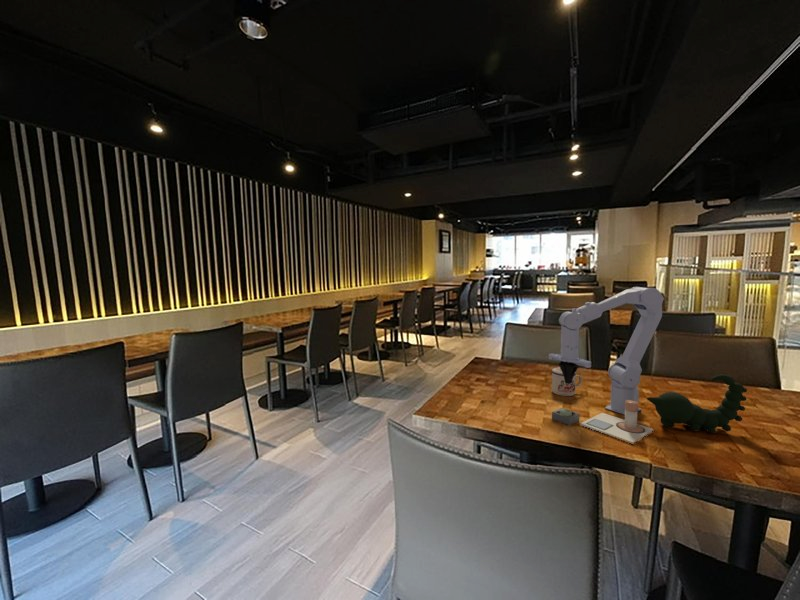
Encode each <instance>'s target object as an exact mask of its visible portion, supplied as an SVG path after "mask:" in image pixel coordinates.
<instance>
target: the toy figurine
mask: <svg viewBox="0 0 800 600" xmlns="http://www.w3.org/2000/svg"><path fill="white" fill-rule="evenodd" d="M710 381H711V382H712V383H713V382H716V381H717V382H718V381H721V382H722V383H724V384H725V385H727V388H728V389H727V390H726V391H725V393H724V396H725V397H724V398H723V399H722V400H721V404H720V405H718V406H717V407H716V409H709V408H702V407H701V406H700V405H697V404H694V403H692V402H691V400H690V399H689V398H688V397H686V396H685V395H683V394H682V393H678V392H675V391H674V392H673V391H669V392H668V391H667V392H664V393H661V394H659V396H657V397H656V396H655V397H646V400H647V401H648V402H650V403H651V404H653V405H654V407H655V410H656V412H657V414H658V416H660V419H659V420H660V423H661V424H662V425H663V426H664V427H666V428H667V427H668V429H672V428H674V427H675V424H681V425H682V424H684V425H687V426H688V427H689V429H690V430H692V431H693V432H699V431H701V429H704V430H706V431H707V432H708V433H709V432H710V433H709V434H711V433H714V434H716V432H717V430H716V429H717V428H721V429H722V430H723V431H725V432H731V430H732V427H731V426H730V425H729V423H730V421H734V420H735V421H737V422H742V421H743V417H742V415H738V411H741V412H743V411H745V410H746V407H745V406H743V405H741V402H744V401H745V402H746V401H747V397H746V396H744V394H743V393H747V392H748V389H747V388H746V387H745V386H743V385H742V384H741V383H738V382H735V379H734V378H733V377H732V376H730V375H728V374H717V375H714V376H713V377H711V379H710Z"/></svg>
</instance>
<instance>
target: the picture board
mask: <svg viewBox="0 0 800 600" xmlns="http://www.w3.org/2000/svg"><path fill="white" fill-rule="evenodd" d="M624 420H625V419H624V418H619V417H617V416H613V415H611V414H607V413H604V412H600V413H599V414H597V415H594V416H592V417H591V418H588V419H586V420H584V421H581V422H580V425H579V426H580V427H583V426H584V428H585V427H587V428H586V429H588V428H590V429H589V430H591V429H592V430H591V431H594V430H596V431H599V432H601V433H600V434H602V433H605V434H608V435H610V436H613V437H616V438H619V439H622V440H625V441H627V442H630V443H634V442H636V441H638V440H639V439H641V438H642V437H644V436H646V435H647V434H649V433H650V432H652V431H653V432H654V429H653V428H651V427H649V426H648V427H647V426H645V425H642V424H638V423H637V429H635V430H632V429H628V428H626V427H624ZM596 431H595V432H596ZM599 432H598V433H599ZM653 432H652V433H653ZM650 434H651V433H650ZM650 434H649V435H650ZM610 436H609V437H610ZM647 436H648V435H647ZM647 436H646V437H647ZM644 438H645V437H644ZM641 440H642V439H641ZM638 442H639V441H638Z"/></svg>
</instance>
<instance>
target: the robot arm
mask: <svg viewBox="0 0 800 600" xmlns="http://www.w3.org/2000/svg"><path fill="white" fill-rule="evenodd" d="M664 300H665V297H664V296H663V294H662V293H661V291H660V290H659V289H657V288H655V287H641V286H633V287H631V288H627V289H625V290H623V291H621V292H618V293H616V294H615V295H612V296H610V297H608V298H606V299H604V300H602V301H599V302H598V303H596V302H594V301H591V302H590V301H587V302H585V303H584V305H582V306H580V307H577V308H575V307H574V308H572V309H571V311H564V312H563V313H561V315H560V317H559V318H558V323H559V325H560V326H561V328H560V329H561V330H560V354H559V353H558V354H557V353H548V360H551V361H552V360H553V361H558V362H559V363H558V367H560V369H561V371H562V373H563V376H564V380H565V383H567V384H570V383H572V380H573V377H574V374H575V372H576V373H577V371H578V369H579V367H584V368H585V369H587V368H588V369H590V368H591V367H592V361H590V360H586V359H583V358H579V349H580V348H579V342H580V341H579V340H580V339H579V338H580V337H579V336H580V328H581V327H582V326H583V325H584V324H586V323H589V322H592V321H594V320H596V319H598V318H601V316H602V315H603V312H606V311H609V310H611V309H614V308H617V307H620V306H622V305H625V304H629V305H633V306H634V308H636V309H637V311H638V313H639V314H640V318H639V320H638V322H637V324H636V326H635V329H634V330H633V333H632V334H631V337H630V338H629V341H628V342H627V345H626V347H625V350H624V351H623V354H622V355H621V356H620V357H617V358H616V359H615V361H614V363H613V364H612V365H610V367H608V371H607V374H608V376H609V378H610V379H611V380H610V381H611V383H610V401H609V403H610V404H609V405H607V406H605V407H604V409H605V410H608V411H612V412H616V413H619V414H622V415H624V416H625V401H626V400H632V401H636V402H638V403H639V399H640V390H639V389H638V386H639V384H640V382H641V374H642V371H643V369H642V367H641V361H642V359H643V358H644V355H645V353H646V350H647V349H648V346H649V344H650V342H651V340H652V338H653V336H654V334H655V332H656V330H657V328H658V326H659V324H660V322H661V319H662V317H663V307H662V306H663V305H662V304H663V301H664ZM641 410H642V408H641V407H638V412H639V411H641Z"/></svg>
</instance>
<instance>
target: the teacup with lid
mask: <svg viewBox="0 0 800 600" xmlns="http://www.w3.org/2000/svg"><path fill="white" fill-rule="evenodd" d="M576 378H578V379H579V381H578V383H576ZM582 382H583V378H582V376H581V375H579V374H577V371H576V372H575V374H574V377H573V380H572V383H570V384H567V383H565V380H564V376H563V373H562V371H561V369H560V367H559V366H558V367H554V368H552V369H551V392H552V393H553V394H555V395H559V396H562V397H571V396H575V394H576V388H578V387H579V386H581V385H582Z"/></svg>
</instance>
